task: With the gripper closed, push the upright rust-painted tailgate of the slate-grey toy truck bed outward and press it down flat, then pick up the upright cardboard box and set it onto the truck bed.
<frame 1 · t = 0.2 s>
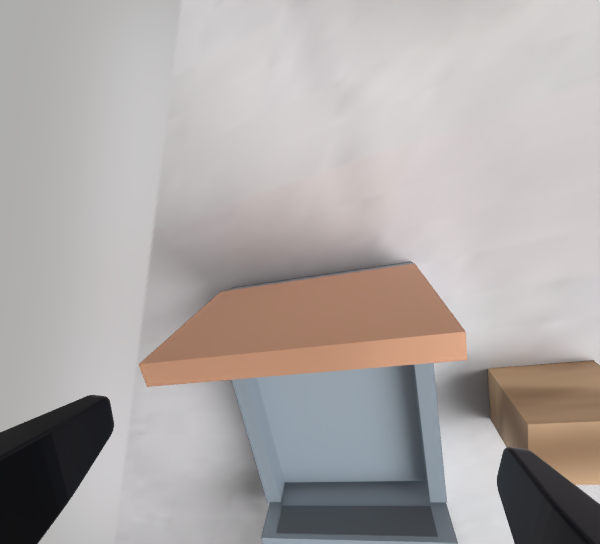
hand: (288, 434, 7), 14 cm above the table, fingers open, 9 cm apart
upright cardboard box: (538, 390, 21), on the table
tailgate: (303, 314, 15), point 6 cm above the table, hinge at 0.0°
truck bed: (335, 374, 22), on the table
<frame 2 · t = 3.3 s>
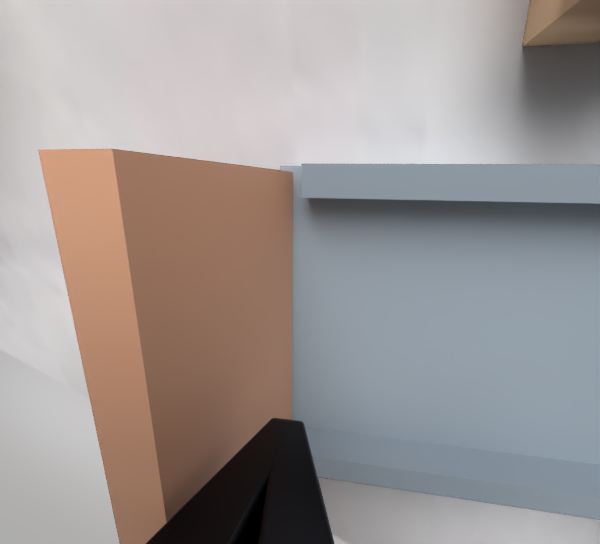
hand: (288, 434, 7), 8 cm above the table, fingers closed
tailgate: (240, 382, 9), point 6 cm above the table, hinge at 3.9°, touching gripper
truck bed: (461, 315, 13), on the table
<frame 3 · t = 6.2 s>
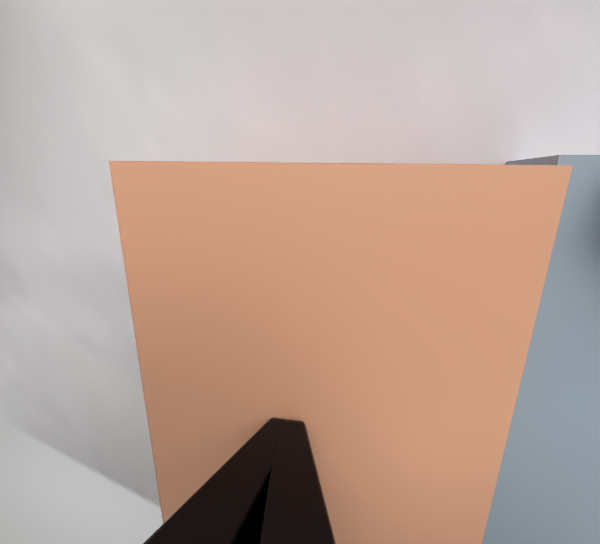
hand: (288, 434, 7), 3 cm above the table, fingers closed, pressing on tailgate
tailgate: (323, 419, 8), point 2 cm above the table, hinge at 83.8°, touching gripper
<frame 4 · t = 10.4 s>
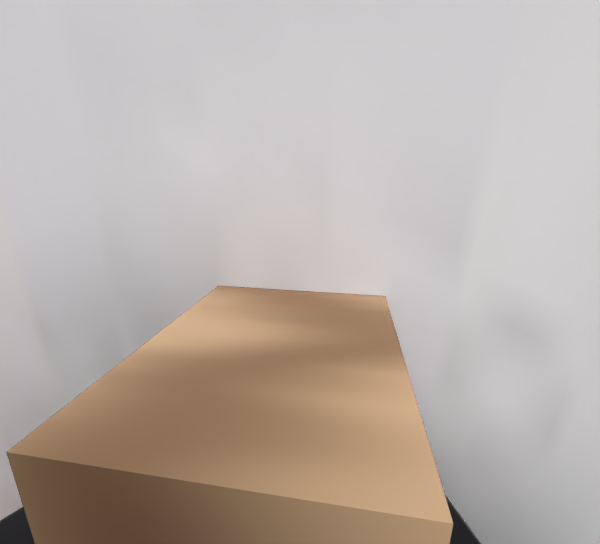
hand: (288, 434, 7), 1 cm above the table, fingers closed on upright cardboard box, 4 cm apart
upright cardboard box: (297, 398, 8), on the table, touching gripper
when the fingers open (4 cm above the table, at t = 14.5 s): upright cardboard box stays where it is, resting on truck bed.
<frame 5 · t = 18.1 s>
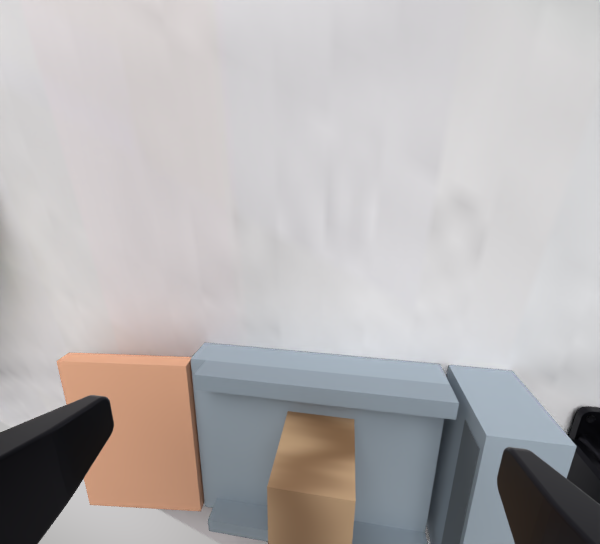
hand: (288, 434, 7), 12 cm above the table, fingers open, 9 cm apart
upright cardboard box: (319, 454, 20), point 2 cm above the table, touching truck bed
tailgate: (137, 435, 21), point 2 cm above the table, hinge at 83.9°
truck bed: (313, 430, 22), on the table
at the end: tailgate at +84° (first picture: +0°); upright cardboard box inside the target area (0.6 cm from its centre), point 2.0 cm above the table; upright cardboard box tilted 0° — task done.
